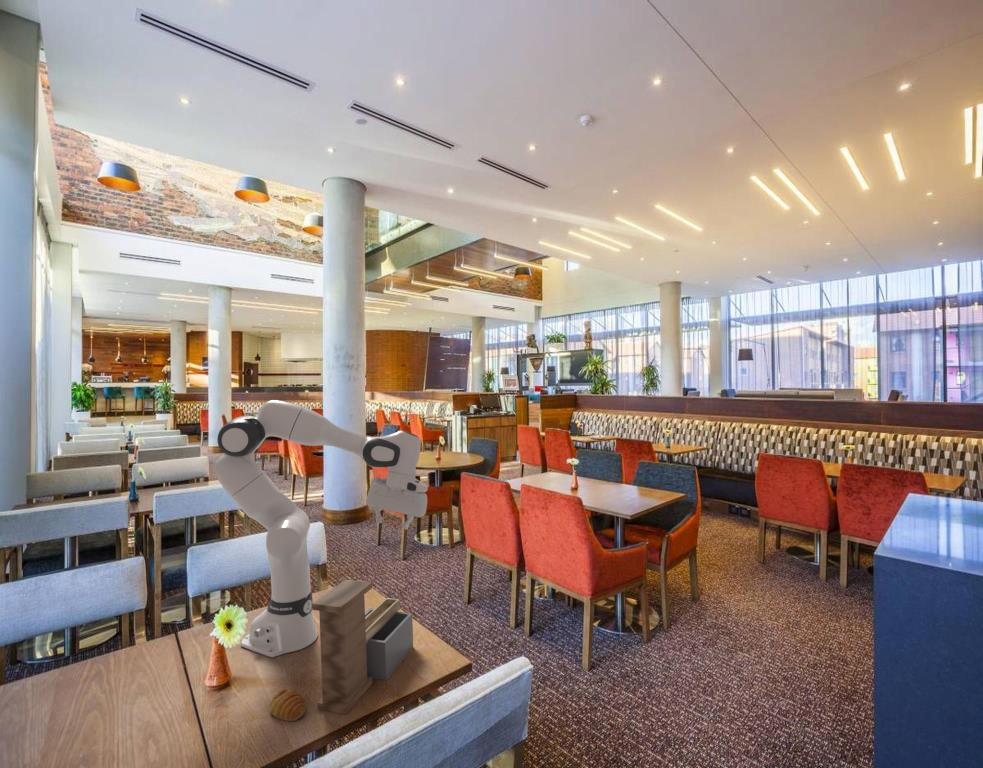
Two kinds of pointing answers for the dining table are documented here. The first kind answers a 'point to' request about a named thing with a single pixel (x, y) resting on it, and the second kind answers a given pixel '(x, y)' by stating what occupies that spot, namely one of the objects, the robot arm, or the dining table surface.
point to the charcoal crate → (389, 645)
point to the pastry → (287, 705)
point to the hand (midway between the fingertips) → (391, 525)
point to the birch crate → (380, 616)
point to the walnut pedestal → (343, 645)
